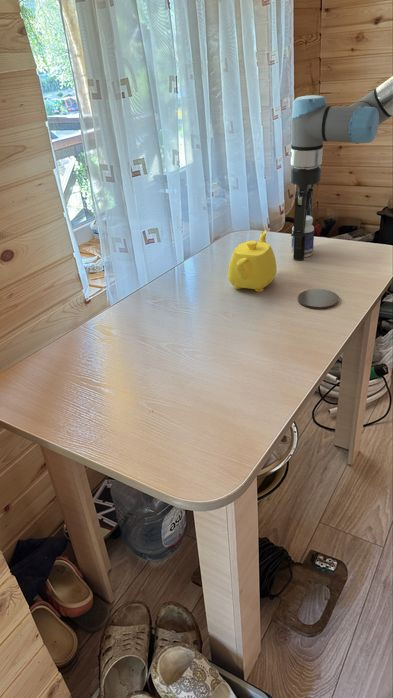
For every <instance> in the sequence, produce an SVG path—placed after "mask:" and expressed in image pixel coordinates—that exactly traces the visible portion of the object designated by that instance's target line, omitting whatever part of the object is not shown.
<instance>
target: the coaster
mask: <svg viewBox="0 0 393 698" xmlns="http://www.w3.org/2000/svg"><path fill="white" fill-rule="evenodd" d="M339 301H340V297H339V295H338V294H337V293H336V292H334V291H331V290H329V289H324V288H310V289H305V290H303V291H301V292H299V294H298V295H297V302H298V304H299V305H301V306H303V307H305V308H307V309H311V310H327V309H331V308H334V307H335V306H337V305H338V304H339Z"/></svg>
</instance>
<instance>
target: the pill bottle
mask: <svg viewBox="0 0 393 698" xmlns="http://www.w3.org/2000/svg"><path fill="white" fill-rule="evenodd" d="M313 219H314V217H313V216H312V217H311V216H307V215H306V224H305V251H304V258H308V257H310V256H312V255H313V253H314V244H315V243H314V241H315V226H314V225H313V224H314V222H313ZM293 227H294V225H293V226H292V229H291V234H293ZM293 254H294V236H291V255H293Z"/></svg>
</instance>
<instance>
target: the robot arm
mask: <svg viewBox="0 0 393 698" xmlns="http://www.w3.org/2000/svg"><path fill="white" fill-rule="evenodd" d="M392 116H393V75H392V76H390V77H389V78H387V79H386V80H385V81H383V82H382V83H381V84H379V85H378V86H377V87H375V88H374V89H373V90H371V91H370V92H368V93H367V94H366V95H364V96H363V97H362V98H360V99H359V100H357V101H356V102H353V103H352V104H350V105H341V106H340V105H339V106H335V105H333V106H332V105H327V99H326V97H325V96H323V95H317V94H315V95H310V94H309V95H302V96H298V97H296V98H295V99H294V100H293V104H292V112H291V119H290V121H291V139H290V140H291V143H290V148H291V149H290V151H289V152H288V156H291V157H290V165H291V167H290V169H289V182H290V183H291V184H292V185H296V186H297V188H296V189H297V190H295V193H294V195H295V196H294V212H293V213H294V215H293V226H294V227H293V226H292V228H293V234H292V233H291V234H290V236H291V237H292V236H294V254H292V256H293V257H292V259H293V260H295V261H304V260H305V257H304V251H305V224H306V215H307V216H311V217H313V199H314V198H313V197H314V192H315V191H314V185H317V184H319V183H320V182H321V180H322V179H321V178H322V167H321V165H322V164H323V151H324V142H334V143H352V144H356V145H357V144H358V145H359V144H365V143H366V144H369V143H372V142H373V141H374V140H375V138H376V136H377V133H378V130H379V126H380V125H381V124H382V123H384V122H385V121H387V120H388V119H390V118H391V117H392ZM314 221H315V219H314V218H313V223H314Z"/></svg>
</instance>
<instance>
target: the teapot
mask: <svg viewBox="0 0 393 698" xmlns="http://www.w3.org/2000/svg"><path fill="white" fill-rule="evenodd" d="M266 238H267V230H266V229H264V230H262V231H261V233H260V236H259V240H258V241H257V240H254V239H253V240H252V239H251V240H248V241H243V242H241V243H240V244H238V245H236V247H235V248H234V249H233V251H232V254H231V257H230V260H229V263H228V269H227V279H228V281H229V283H230V285H232V286H234V287H233V288H234V289H237V290H241V289H252V290H254V292H258V293H261V292H263V291H264V290H265V289H264V288H265V287H267V286H269V285H270V284H271V283H272V281H273V280H274V279H275V276H276V274H277V260H276V256H275V252H274V250H273V248H272V246H271V244H270V243H268V242H267V241H266Z"/></svg>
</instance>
